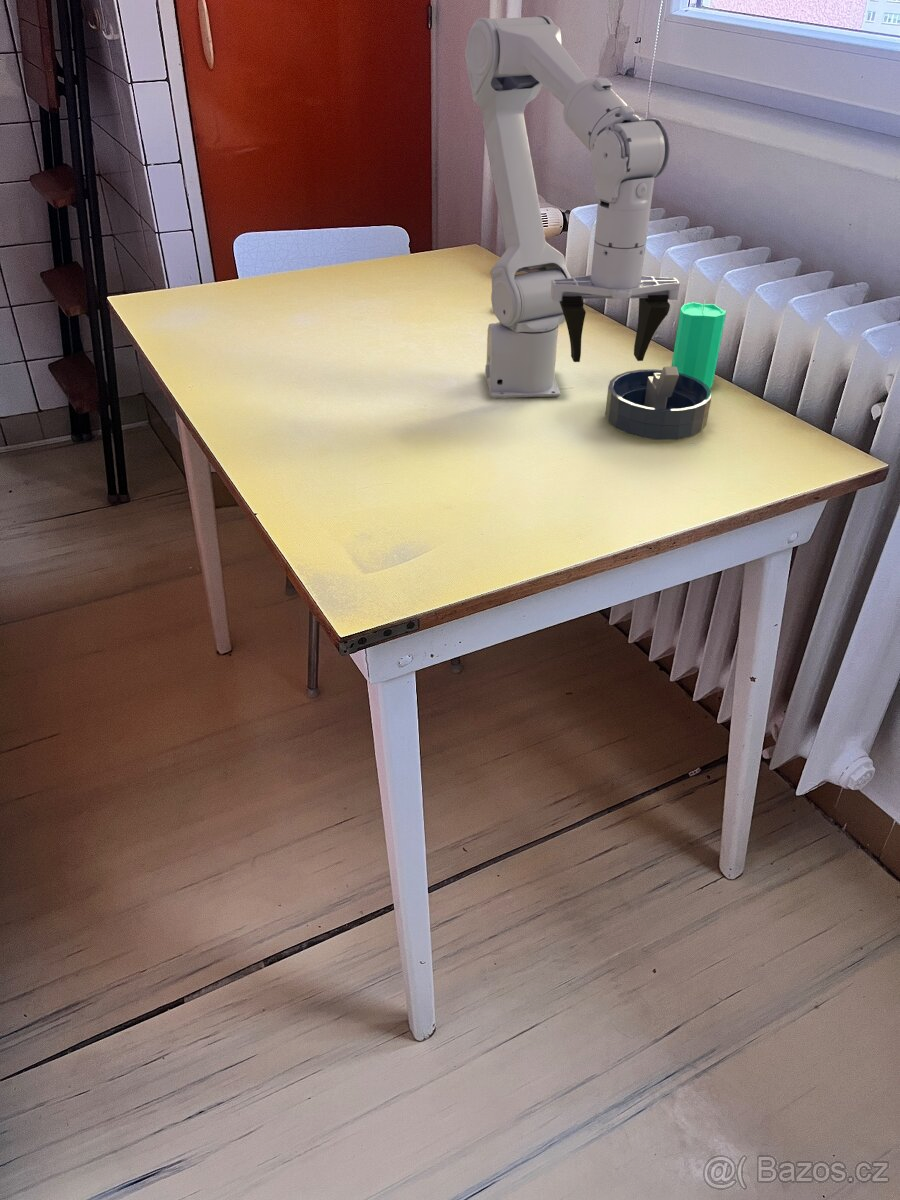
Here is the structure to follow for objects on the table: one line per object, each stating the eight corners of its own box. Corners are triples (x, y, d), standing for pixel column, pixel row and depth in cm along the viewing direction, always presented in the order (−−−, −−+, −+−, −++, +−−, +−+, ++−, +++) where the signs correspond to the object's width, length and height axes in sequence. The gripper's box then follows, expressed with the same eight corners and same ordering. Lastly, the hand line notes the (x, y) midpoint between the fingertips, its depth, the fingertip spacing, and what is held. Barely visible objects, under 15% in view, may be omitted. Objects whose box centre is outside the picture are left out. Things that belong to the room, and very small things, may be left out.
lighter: (643, 407, 123) (651, 348, 118) (656, 406, 123) (665, 348, 118) (656, 431, 117) (665, 370, 113) (670, 430, 117) (679, 370, 113)
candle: (713, 393, 128) (729, 307, 121) (668, 389, 129) (682, 303, 122) (712, 376, 133) (727, 292, 126) (669, 372, 134) (682, 288, 127)
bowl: (616, 445, 115) (620, 411, 113) (596, 401, 126) (599, 370, 123) (718, 443, 116) (724, 409, 114) (689, 400, 126) (695, 368, 124)
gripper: (561, 252, 100) (552, 372, 109) (693, 251, 101) (675, 370, 109) (551, 234, 106) (543, 349, 114) (676, 233, 107) (660, 347, 115)
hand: (606, 358), depth 112 cm, fingers open, 7 cm apart
